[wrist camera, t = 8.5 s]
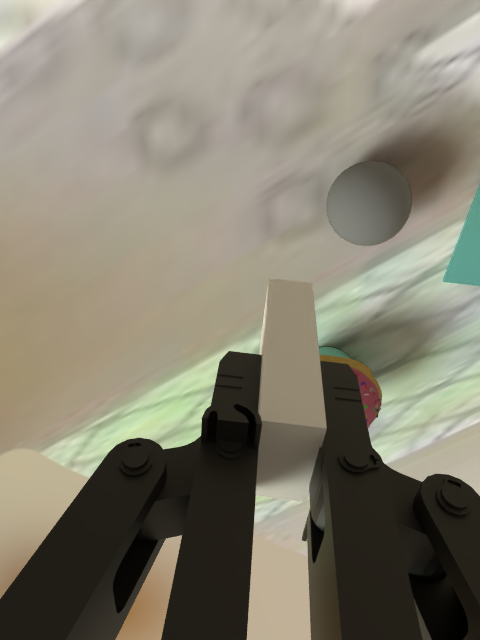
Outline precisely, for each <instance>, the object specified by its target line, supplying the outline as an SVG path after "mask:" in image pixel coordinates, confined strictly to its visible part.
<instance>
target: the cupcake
mask: <svg viewBox="0 0 480 640" xmlns="http://www.w3.org/2000/svg"><path fill="white" fill-rule="evenodd" d="M319 356H320V361H327V362H336V363H344V364H348V365H349V366H350V368H351V369H352V370H353V371H354V373H355V374H356V375H357V378H358V383H359V388H360V393H361V397H362V403H363V407H364V412H365V417H366V422H367V427H368V428H369V427H370V424H371V423H372V422H373V421H374V419H375V418H377V417H378V413H379V411H380V409H381V408H380V406H381V401H382V392H381V389H380V386H379V384H378V382H377V381H376V379H375V378H374V376H373V374H372V372H371V370H370V369H369V368H368V367H367V366H366V365H364V364H363V363H361V362H359V361H356V360H353V359H350V358H349V357H348V356H347V355H346V354H345V353H344V352H342V351H341V350H339V349H336V348H332V347H320V348H319Z"/></svg>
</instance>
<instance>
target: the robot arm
mask: <svg viewBox="0 0 480 640" xmlns="http://www.w3.org/2000/svg"><path fill="white" fill-rule="evenodd" d="M309 492H310V510H309V514H308V517H307V521H306V524H305V528H304V531H303V536H302V540H303V541H306V540H307V543H308V569H309V593H310V594H309V596H310V622H311V640H480V496H479V495H478V494H477V493H476V492H475V490H474V489H473V488H472V487H471V486H469V485H468V484H466V483H465V482H463V481H462V480H460V479H458V478H455V477H453V476H450V475H446V474H434V475H431V476H428V477H427V478H426V479H425V480H424V481H423V482H421V481H418V480H416V479H413V478H411V477H408V476H406V475H403V474H401V473H399V472H397V471H395V470H393V469H391V468H390V467H388V466H387V465H385V464H384V463H383V461H382V459H381V457H380V455H379V454H378V453H377V452H376V451H375V450H374V449H373V448H372V445H371V442H370V437H369V432H368V427H367V422H366V417H365V412H364V407H363V403H362V397H361V393H360V388H359V383H358V378H357V375H356V374H355V373H354V371H353V370H352V369H351V368H350V366H349V365H348V364H344V363H336V362H327V361H320V356H319V346H318V336H317V326H316V317H315V307H314V297H313V287H312V283H306V282H297V281H288V280H279V279H270V278H269V280H268V288H267V296H266V303H265V311H264V319H263V326H262V334H261V342H260V354H259V355H258V354H249V353H241V352H232V351H229V352H228V353H227V354H226V355H225V356H224V357H223V358H222V359H221V361H220V363H219V368H218V373H217V378H216V383H215V388H214V393H213V398H212V403H211V406H210V407H209V408H207V409H206V411H205V413H204V415H203V417H202V432H201V436H200V437H199V438H198V439H197V440H195V441H194V442H192V443H190V444H188V445H185V446H181V447H177V448H170V449H164V450H163V449H162V447H161V446H160V445H159V444H157V443H156V442H154V441H152V440H150V439H143V438H135V439H129V440H126V441H124V442H122V443H120V444H118V445H116V446H115V447H114V448H113V449H112V450H111V451H110V452H109V453H108V454H107V456H106V457H105V458H104V460H103V461H102V463H101V464H100V465H99V467H98V468H97V469H96V471H95V472H94V473H93V475H92V476H91V477H90V479H89V480H88V481H87V483H86V484H85V485H84V487H83V488H82V490H81V491H80V492H79V494H78V495H77V496H76V498H75V499H74V500H73V502H72V503H71V504H70V506H69V507H68V508H67V510H66V511H65V512H64V514H63V515H62V517H61V518H60V519H59V521H58V522H57V523H56V525H55V526H54V527H53V529H52V530H51V531H50V533H49V534H48V535H47V537H46V538H45V540H44V541H43V542H42V544H41V545H40V546H39V548H38V549H37V551H36V552H35V553H34V554H33V556H32V557H31V559H30V560H29V561H28V562H27V564H26V565H25V567H24V568H23V569H22V571H21V572H20V573H19V575H18V576H17V577H16V579H15V580H14V581H13V583H12V584H11V585H10V587H9V588H8V589H7V591H6V592H5V594H4V595H3V596H2V598H1V599H0V640H115V639H116V637H117V635H118V633H119V631H120V629H121V627H122V625H123V623H124V621H125V619H126V617H127V615H128V613H129V611H130V609H131V607H132V605H133V603H134V601H135V599H136V597H137V595H138V593H139V591H140V589H141V587H142V585H143V583H144V581H145V579H146V577H147V575H148V573H149V571H150V569H151V567H152V565H153V563H154V561H155V559H156V557H157V555H158V553H159V551H160V549H161V547H162V545H163V543H164V541H165V539H166V538H170V537H175V536H179V535H182V540H181V544H180V549H179V554H178V560H177V564H176V569H175V574H174V579H173V584H172V589H171V594H170V599H169V604H168V609H167V614H166V619H165V624H164V629H163V633H162V639H161V640H246V638H247V623H248V607H249V592H250V576H251V560H252V544H253V528H254V512H255V496H264V497H272V498H280V499H288V500H296V501H304V502H307V498H308V494H309Z"/></svg>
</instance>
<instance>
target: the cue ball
mask: <svg viewBox="0 0 480 640" xmlns="http://www.w3.org/2000/svg"><path fill="white" fill-rule="evenodd" d="M411 206H412V195H411V190H410V187H409V184H408V182H407V180H406V179H405V177H404V176H403V175H402V173H400V172H399V171H398V170H397V169H396V168H394V167H393V166H391V165H389V164H386V163H383V162H379V161H366V162H361V163H358V164H355V165H353V166H351V167H349V168H348V169H346V170H345V171H344V172H342V173H341V174H340V175H339V176H338V177H337V179H336V180H335V181H334V183H333V184H332V186H331V188H330V191H329V193H328V197H327V204H326V207H327V216H328V219H329V222H330V224H331V226H332V228H333V229H334V231H335V232H336V233H337V234H338V235H339V236H340V237H341V238H343V239H344V240H346V241H348V242H350V243H352V244H356V245H361V246H372V245H377V244H380V243H383V242H385V241H387V240H389V239H390V238H392V237H394V236H395V235H396V234H397V233H398V232H399V231H400V230H401V229H402V227H403V226H404V225H405V223H406V221H407V219H408V217H409V214H410V211H411Z"/></svg>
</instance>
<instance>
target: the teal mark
mask: <svg viewBox="0 0 480 640" xmlns="http://www.w3.org/2000/svg"><path fill="white" fill-rule="evenodd" d="M443 281H444V282H450V283H459V284H468V285H477V286H480V185H479V188H478V191H477V193H476V196H475V198H474V201H473V204H472V206H471V209H470V211H469V214H468V217H467V219H466V222H465V224H464V227H463V230H462V232H461V235H460V237H459V240H458V243H457V245H456V248H455V250H454V253H453V256H452V258H451V261H450V263H449V266H448V269H447V271H446V274H445V277H444V279H443Z"/></svg>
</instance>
